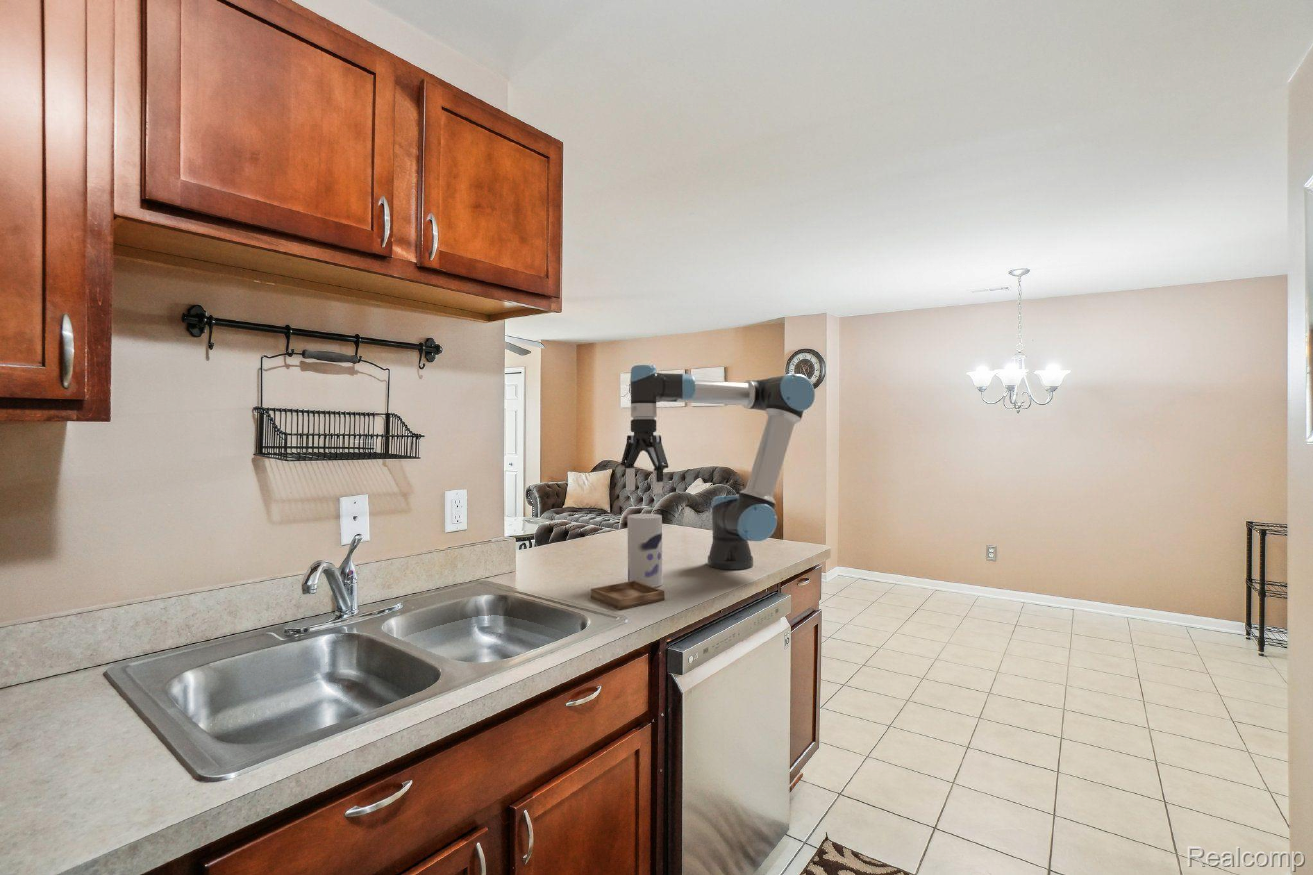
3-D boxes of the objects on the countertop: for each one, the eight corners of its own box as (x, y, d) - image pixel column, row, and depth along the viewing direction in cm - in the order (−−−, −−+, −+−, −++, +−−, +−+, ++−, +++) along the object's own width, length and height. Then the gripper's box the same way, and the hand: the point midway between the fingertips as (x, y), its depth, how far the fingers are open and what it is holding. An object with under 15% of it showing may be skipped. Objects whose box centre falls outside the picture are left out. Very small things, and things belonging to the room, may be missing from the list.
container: (648, 590, 166) (647, 518, 166) (621, 585, 172) (620, 516, 172) (669, 583, 174) (668, 514, 174) (642, 578, 180) (641, 512, 180)
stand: (634, 589, 167) (634, 580, 167) (664, 600, 156) (664, 590, 156) (591, 598, 159) (590, 588, 159) (619, 610, 148) (619, 599, 148)
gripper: (609, 419, 181) (609, 489, 181) (659, 417, 161) (659, 495, 161) (629, 419, 185) (630, 488, 185) (680, 417, 165) (680, 494, 165)
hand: (643, 491), depth 173 cm, fingers open, 13 cm apart
